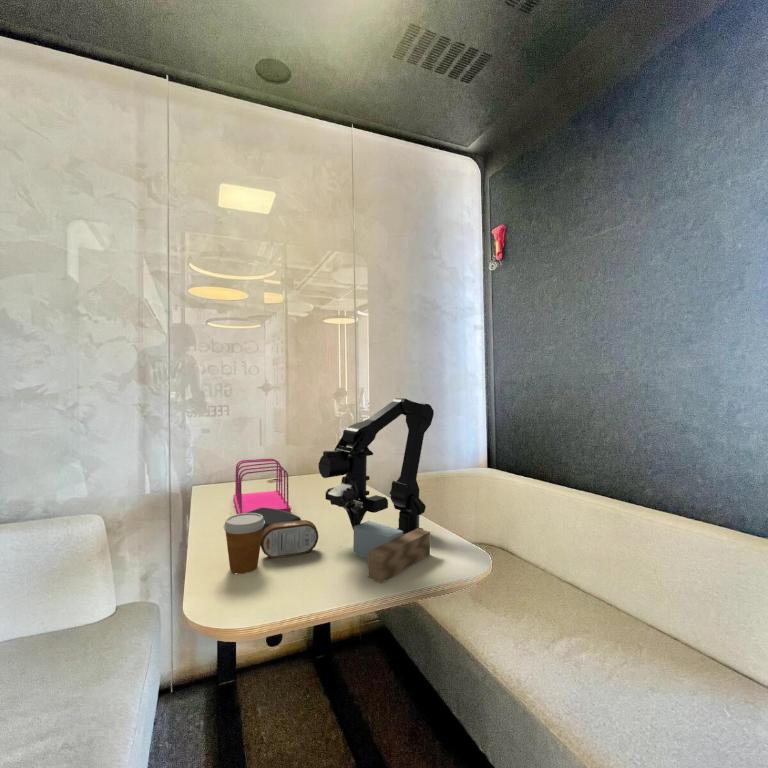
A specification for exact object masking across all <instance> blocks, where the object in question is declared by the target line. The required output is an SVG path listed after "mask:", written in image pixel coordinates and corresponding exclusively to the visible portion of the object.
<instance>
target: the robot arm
mask: <svg viewBox="0 0 768 768" xmlns="http://www.w3.org/2000/svg"><path fill="white" fill-rule="evenodd" d="M434 413H435V412H434V409H433V406H432V405H430V404H429V403H419V402H415V401H413V400H412V401H411V400H410V399H407V398H404V397H402V398H401V397H396V398H394V399H392V401H391V402H389V403H388V404H386V405H385V406H384V407H383V408H381V409H380V410H378V411H376V413H375V414H373V415H371V416H370V417H369V418H367V419H365V420H363V421H362V420H361V421H359V422H356V423H353V424H351V425H349V426H347V427H346V428H344V430H343V432H342V435H341V438H340V439H339V441H338V442H337V444H336V446H335V448H334V449H333V450H323V453H322V456H321V457H320V459H319V461H318V465H317V466H318V472H319V474H320V476H321V477H322V478H323V479H327V478H334V477H335V478H336V477H340V476H342V477H341V483H340V484H338V485H336V486H335V487H330V488H328V489H327V490H326V491H325V500H327V501H329V503H330V505H332V506H333V505H334V506H337V507H339V508H343V509H344V510H345V511H346V513H347V515H348V518H349V522H350V525H351V529H352V530H353V531H354V526H356V525H359V524H361V523H362V521H363V520H364V517H365V515H366V513H367V512H370V513H378V512H381V511H384V510H387V509H388V508H389V500H388V499H387V497H386V496H381V495H377V494H375V495H372V496H369V495H370V490H367V481H369V480H370V475H367V466H368V465H367V462H368V460H367V459H368V457H370V456H373V455H374V453H373V450H370V448H369V446H370V445H371V444H372V443H373V441H375V439H376V437H377V434H378V433H379V432H380V431H382V429H383V430H384V428H385V427H387V426H388V425H389V424H391V423H392V422H393V421H394V420H396V419H397V418H399V417H400V416H402V415H403V416H405V423H406V426H407V429H408V430H407V431H408V432H407V437H406V438H407V439H406V443H405V448H404V454H403V460H402V466H401V469H400V470H401V471H400V475H399V477H398V478H397V480H392V482H391V489H390V492H389V495H390V501H391V502H392V504H393V508H394V509H395V510H399V512H398V527H397V528H396V529H398V530H401V531H403V535H404V534H406V533H409V532H411V531H413V530H415V529H417V528H419V529H422V530H424V528H422V527H420V516H421V515H422V514H424V513H426V512H425V511H426V508H427V506H426V504H425V503H424V502H423V500H421V499H420V488H419V487H420V486H419V484H418V480H417V477H418V472H419V465H420V461H421V454H422V448H423V443H424V437H425V433H426V432H427V430H428V429H429V427H431V424H432V421H433V419H434ZM344 475H345V476H344Z"/></svg>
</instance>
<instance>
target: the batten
mask: <svg viewBox="0 0 768 768" xmlns="http://www.w3.org/2000/svg"><path fill="white" fill-rule="evenodd" d="M419 528H420V527H419ZM419 528H417V529H415V530H413V531H411V532H409V533H406V534H403V535H402V536H400V537H398V538H396V539H394V540H392V541H390V542H388V543H385V544H383V545H381V546H379V547H377V548H375V549H373V550H371V551H369V552H368V558H367V562H368V563H367V565H368V566H367V578H368V579H371V580H373V581H375V582H378V583H379V584H383V583H384V582H386V581H387V580H389V579H391V578H392V577H395V576H396V575H398V574H399V573H401V572H403V571H405V570H406V569H408V568H409V567H412V566H413V565H414V564H416V563H418V562H420V561H421V560H423V559H425V558H427V557H428V556H430V554H431V531H428V530H425V529H423V528H422V529H423V530H422V529H419Z"/></svg>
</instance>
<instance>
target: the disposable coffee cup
mask: <svg viewBox="0 0 768 768" xmlns="http://www.w3.org/2000/svg"><path fill="white" fill-rule="evenodd" d="M264 524H265V521H264V519H263V516H262V515H261V514H257V513H242V514H237V513H236V514H233V515H230V516H229V517H227V518H226V519H225V522H224V524H223V525H222V527H223V529H224V531H225V537H226V545H227V554H228V555H227V556H228V562H229V570H230V572H231V573H232V572H233V574H236V573H237V575H243V574H248V573H252V572H254V571H255V570H256V569H258V567H259V558H260V550H261V546H260V545H261V538H262V530H263V526H264Z"/></svg>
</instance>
